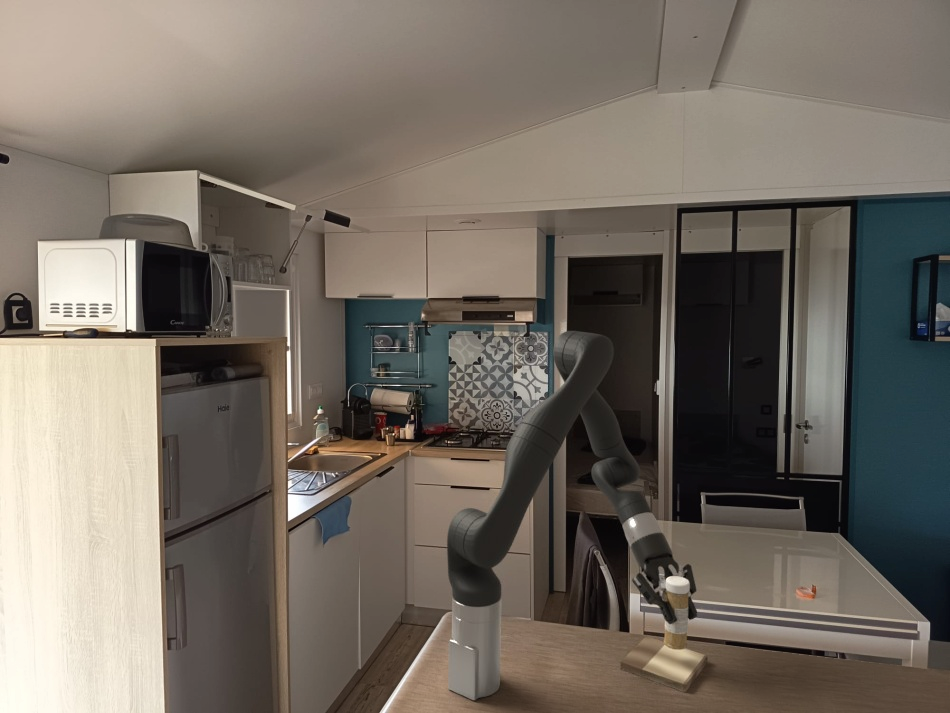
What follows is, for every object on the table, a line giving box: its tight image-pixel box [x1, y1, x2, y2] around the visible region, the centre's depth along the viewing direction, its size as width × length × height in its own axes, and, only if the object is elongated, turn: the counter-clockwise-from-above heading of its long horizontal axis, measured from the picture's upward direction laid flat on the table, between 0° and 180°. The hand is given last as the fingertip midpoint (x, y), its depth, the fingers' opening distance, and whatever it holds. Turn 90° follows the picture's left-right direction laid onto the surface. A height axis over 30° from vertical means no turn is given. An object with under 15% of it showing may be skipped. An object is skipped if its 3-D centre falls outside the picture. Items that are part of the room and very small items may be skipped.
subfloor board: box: [620, 635, 708, 693], centre depth 132 cm, size 13×13×2 cm
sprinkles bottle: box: [663, 575, 690, 650], centre depth 130 cm, size 5×5×14 cm
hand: (683, 620), depth 129 cm, fingers closed on sprinkles bottle, 4 cm apart
